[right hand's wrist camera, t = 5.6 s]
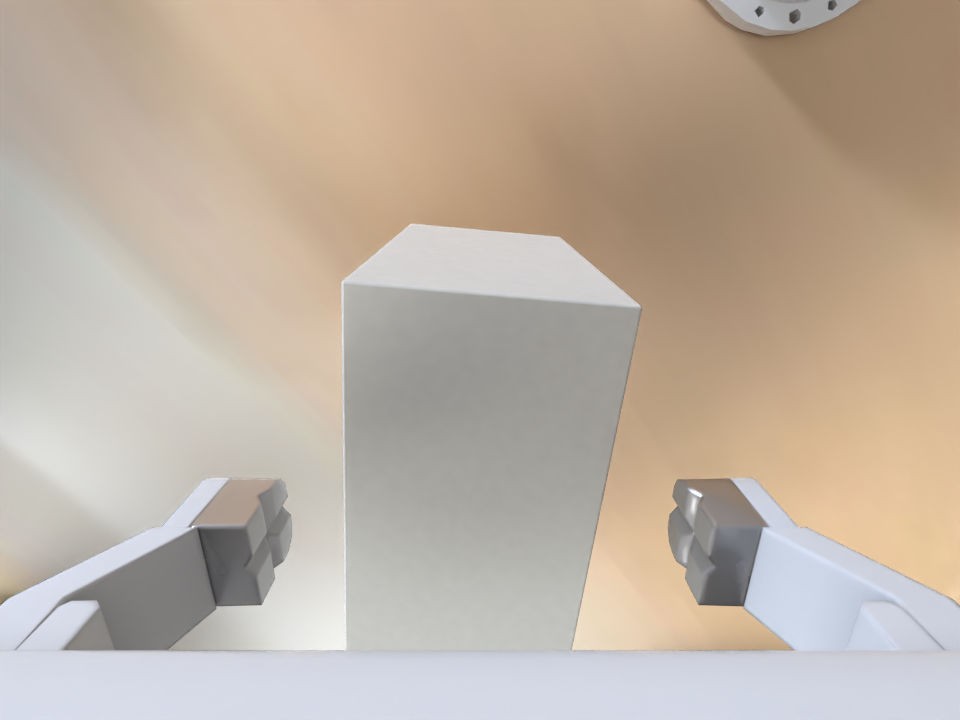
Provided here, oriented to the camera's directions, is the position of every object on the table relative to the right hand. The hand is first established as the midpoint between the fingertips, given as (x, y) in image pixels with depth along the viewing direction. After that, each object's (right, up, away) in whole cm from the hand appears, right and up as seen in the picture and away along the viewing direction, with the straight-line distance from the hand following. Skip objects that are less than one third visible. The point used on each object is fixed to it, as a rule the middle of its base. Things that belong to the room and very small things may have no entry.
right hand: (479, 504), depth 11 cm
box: (-1, -3, +15) cm, 16 cm away
